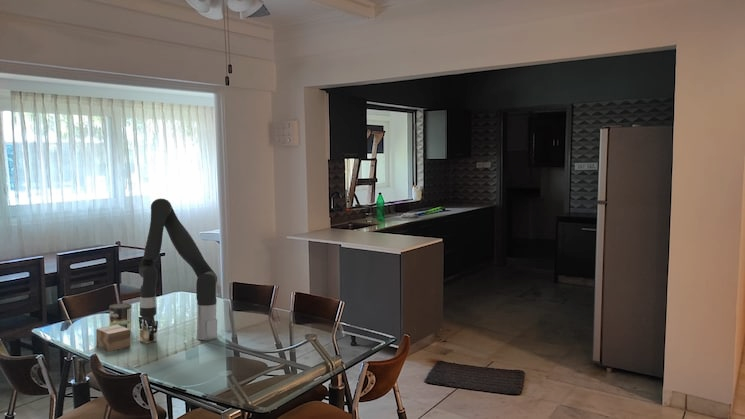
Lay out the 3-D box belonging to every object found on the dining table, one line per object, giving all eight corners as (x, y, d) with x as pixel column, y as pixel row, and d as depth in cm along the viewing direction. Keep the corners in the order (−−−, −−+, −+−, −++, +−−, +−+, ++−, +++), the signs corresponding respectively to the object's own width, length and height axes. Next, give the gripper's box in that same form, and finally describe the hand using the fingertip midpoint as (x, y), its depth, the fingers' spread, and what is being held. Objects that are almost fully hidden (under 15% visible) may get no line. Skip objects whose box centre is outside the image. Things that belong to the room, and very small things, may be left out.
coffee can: (118, 337, 267) (118, 309, 266) (104, 333, 272) (104, 306, 271) (136, 332, 276) (136, 305, 275) (122, 328, 281) (122, 302, 280)
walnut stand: (130, 346, 254) (130, 329, 254) (108, 351, 247) (108, 334, 246) (117, 340, 262) (117, 324, 261) (96, 345, 254) (96, 328, 253)
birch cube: (156, 340, 264) (156, 329, 264) (145, 343, 260) (145, 332, 259) (150, 338, 267) (150, 327, 267) (139, 340, 263) (139, 329, 263)
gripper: (163, 306, 261) (163, 341, 262) (147, 301, 270) (147, 335, 271) (148, 309, 255) (148, 344, 256) (133, 304, 264) (133, 338, 265)
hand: (148, 339), depth 263 cm, fingers closed on birch cube, 5 cm apart
